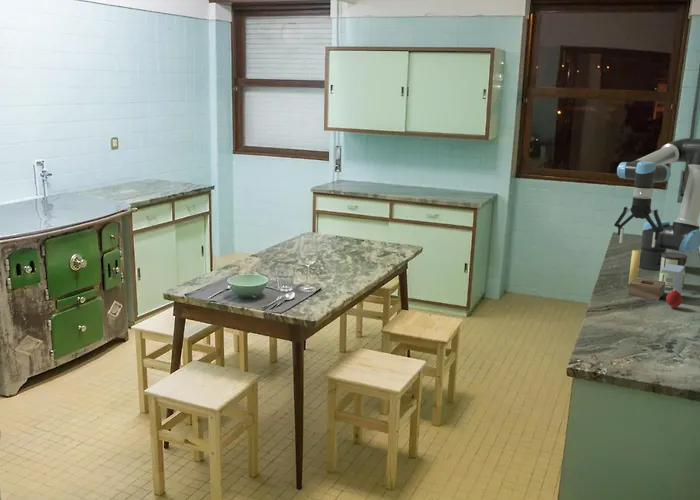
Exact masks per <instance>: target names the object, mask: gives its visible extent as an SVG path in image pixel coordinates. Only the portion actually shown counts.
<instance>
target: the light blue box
mask: <svg viewBox="0 0 700 500" xmlns="http://www.w3.org/2000/svg"><path fill="white" fill-rule="evenodd" d="M684 267H685V266H680V265H673V264H667V265H666V266H665V267H664V268H663V269H662V272H665V273H671V274H675V278H674V286H673V288H672V290H673V289H676V290H677V291H678V292H679V293H680V294H681V295H682V288H683V287H682V283H683V275H684ZM685 268H686V267H685ZM684 276H685V275H684ZM683 284H684V283H683Z"/></svg>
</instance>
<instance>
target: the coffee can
mask: <svg viewBox="0 0 700 500" xmlns="http://www.w3.org/2000/svg"><path fill="white" fill-rule="evenodd" d="M687 260H688V256H687V254H683V253H681V252H680V253H679V252H671V251H670V252H667V251H666V253H662V259H661V268H660V270H659V278H658V281H662V282H665V288H669V289H673V286H674V278H675V274H671V273H665V272H662V269H663V268H664V267H665V266H666V265H667V264H673V265H680V266H685V267H684V275H683V283H682V288H684V283H685V274H686V266H687Z"/></svg>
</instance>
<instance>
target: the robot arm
mask: <svg viewBox="0 0 700 500" xmlns="http://www.w3.org/2000/svg"><path fill="white" fill-rule="evenodd" d="M674 163H688V164H687V167H688V168H689V174H688V178H687V181H686V185H685V189H684V193H683V196H682V200H681V204H680V208H679V211H678V216H677V218H676V219H675V220H673V221H672V225H671V222H670V221H668V220H661V219H660V218H661V217H660V215H659V210H658V209H652V208H651V207H652V197H653V191H654V184H655V183H657V184H658V183H663V182H666V181H668V180H669V179H670V178H671V175H672V171H671V168H670V167H669V166H668V165H667V164H674ZM616 174H617V177H618V178H620V179H624V180H633V181H634V184H633V185H634V186H633V187H634V188H633V192H632V193H633V197H632V203H631V207H629V206H627V205H626V206H624V207H623V211H622V212H621V214H620V216H619V217H618V218H617V220H616V222H615V223H614V225H613V226H614V227H616V228H618V229H617V235H618V236H619V239H618V240H619V241H618V244H622V243H623V240H624V230H625V228H624V226H625V225H626V224H627V223H629V222H630V221H631V220H632V219H633V218H635V219H642V220H643V219H645V220H646V221H645V222H644V223H643V226H642V227H643V228H642V230H641V231H642V234H641V235H642V236H641V244H640V249H639V250H640V251H641V254H640V263H639V269H643V270H644V269H645V270H651V271H660V268H661V259H662V253H667V250H671V251H676V252H680V253H688V254H691V253H694V252H696V250H698V249H699V247H700V224H699V223H698V221H699V218H700V138H692V137H685V138H680V139H677V140H674V141H670V142H668V143H666V144H664V145H662V146H661V148H660V149H658V150H655V151H653V152H651V153H649V154H646V155H645V156H642V157H640V158H637V159H636V160H635V159H634V160H633V161H629V162H628V161H622V162H620V163H619V164H618V166H617V168H616ZM628 212H631V214H630V215H629V216H628V217H627V218H626V219H625V220H623V219H624V217H625V216H626V215H627V213H628ZM651 213H652V215H653V216H654V219H655V220H653V219H652V218H651V216H650V214H651ZM622 220H623V222H622ZM621 222H622V223H621Z"/></svg>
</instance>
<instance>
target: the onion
mask: <svg viewBox="0 0 700 500" xmlns="http://www.w3.org/2000/svg"><path fill="white" fill-rule="evenodd" d="M665 301H666V303H667V304H668V306H670V307H671V308H672V309H675V308H678V307H680V305H681V304H682V303H683V297H682V293H681V294H680V293H679V292H678V291H677V290H676V289H673V288H672V291H670V292H669V293H668V294H667V295H666V298H665Z"/></svg>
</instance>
